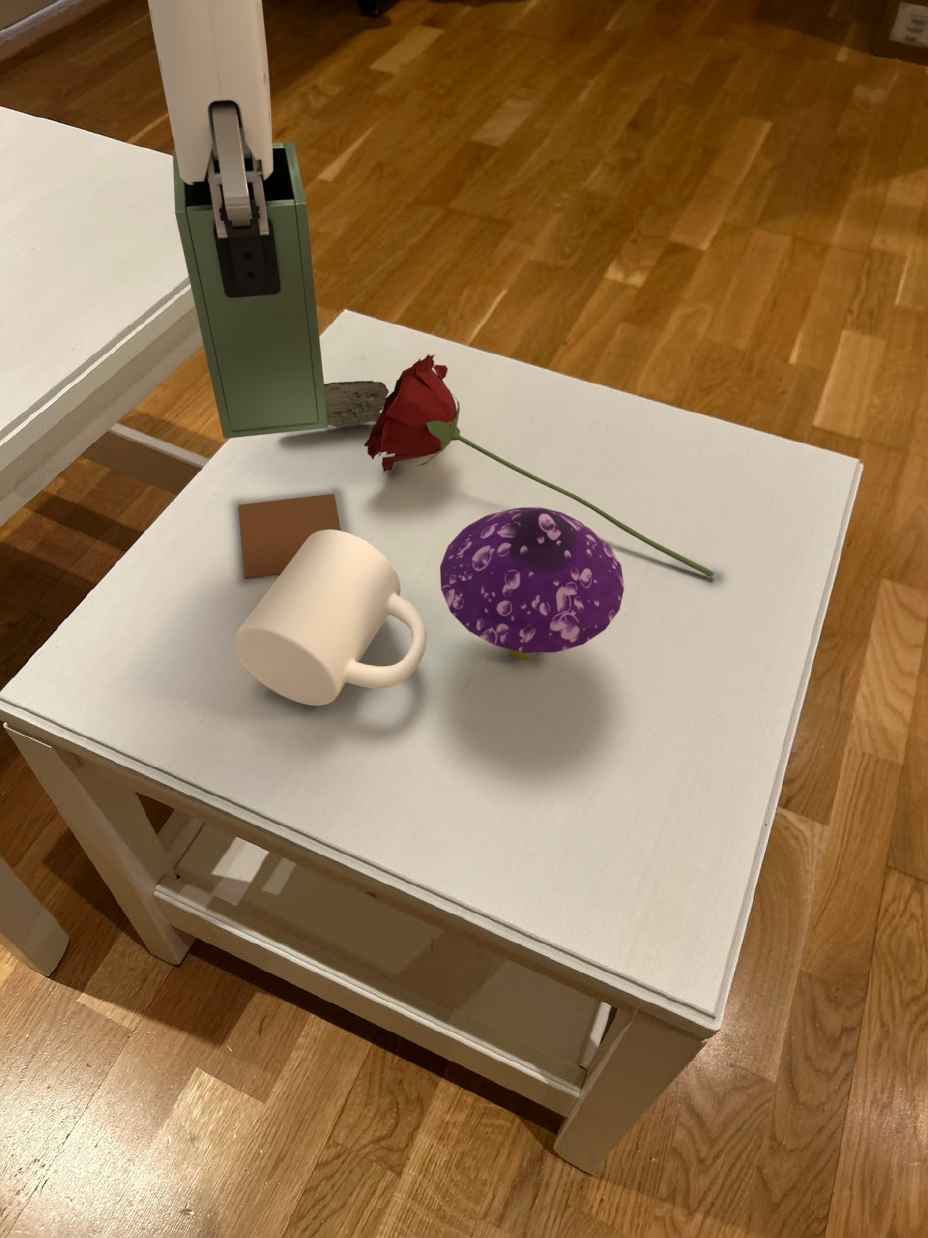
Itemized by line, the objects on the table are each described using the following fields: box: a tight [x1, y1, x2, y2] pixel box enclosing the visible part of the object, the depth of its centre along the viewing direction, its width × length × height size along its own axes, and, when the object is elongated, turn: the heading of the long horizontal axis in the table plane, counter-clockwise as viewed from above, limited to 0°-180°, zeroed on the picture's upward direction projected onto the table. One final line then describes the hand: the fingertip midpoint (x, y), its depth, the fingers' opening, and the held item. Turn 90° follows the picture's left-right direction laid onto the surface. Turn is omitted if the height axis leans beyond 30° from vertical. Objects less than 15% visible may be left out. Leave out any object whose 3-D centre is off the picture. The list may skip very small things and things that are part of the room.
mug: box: [234, 530, 427, 707], centre depth 66 cm, size 12×10×8 cm
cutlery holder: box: [172, 141, 329, 439], centre depth 59 cm, size 7×7×16 cm
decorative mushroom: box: [439, 506, 625, 660], centre depth 64 cm, size 12×12×15 cm
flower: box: [363, 353, 715, 578], centre depth 77 cm, size 11×10×30 cm
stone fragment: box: [324, 380, 390, 428], centre depth 82 cm, size 10×1×5 cm, turn 102°
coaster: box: [237, 493, 342, 580], centre depth 76 cm, size 8×8×1 cm
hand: (248, 253), depth 56 cm, fingers closed on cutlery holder, 7 cm apart
